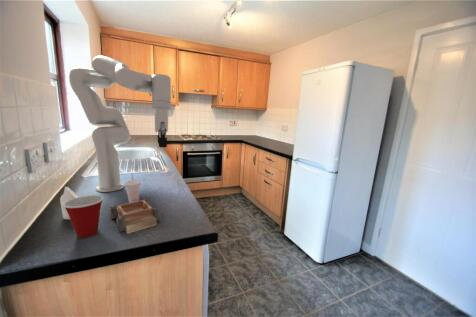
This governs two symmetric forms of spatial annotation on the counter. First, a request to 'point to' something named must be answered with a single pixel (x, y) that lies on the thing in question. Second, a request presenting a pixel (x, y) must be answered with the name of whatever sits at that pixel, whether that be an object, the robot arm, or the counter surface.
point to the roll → (65, 197)
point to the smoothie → (133, 190)
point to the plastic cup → (84, 214)
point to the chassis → (134, 216)
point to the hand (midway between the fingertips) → (162, 145)
